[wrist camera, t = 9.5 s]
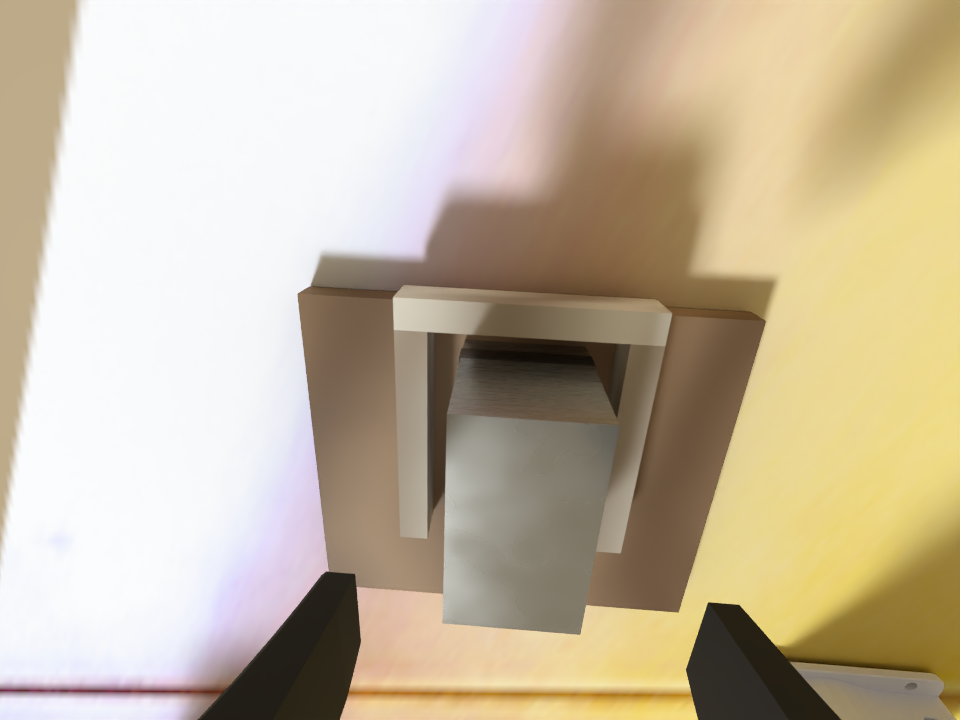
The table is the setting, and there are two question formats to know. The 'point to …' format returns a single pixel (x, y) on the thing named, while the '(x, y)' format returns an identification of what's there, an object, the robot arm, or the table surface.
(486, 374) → the block
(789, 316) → the table surface
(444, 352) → the holder
